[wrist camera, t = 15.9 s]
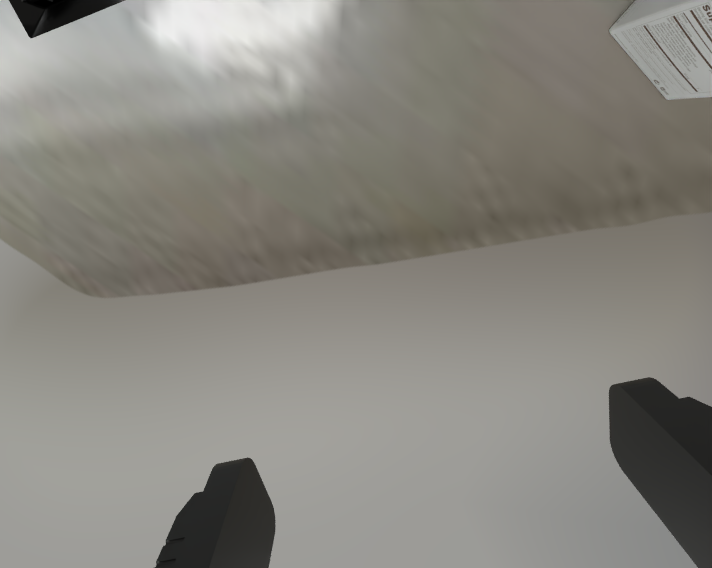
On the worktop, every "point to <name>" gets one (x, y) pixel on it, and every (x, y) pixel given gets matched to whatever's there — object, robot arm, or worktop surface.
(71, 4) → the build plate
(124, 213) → the worktop surface
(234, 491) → the robot arm
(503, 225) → the worktop surface
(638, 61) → the supplement box
